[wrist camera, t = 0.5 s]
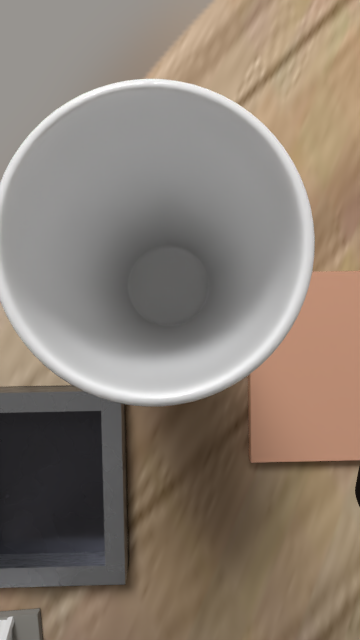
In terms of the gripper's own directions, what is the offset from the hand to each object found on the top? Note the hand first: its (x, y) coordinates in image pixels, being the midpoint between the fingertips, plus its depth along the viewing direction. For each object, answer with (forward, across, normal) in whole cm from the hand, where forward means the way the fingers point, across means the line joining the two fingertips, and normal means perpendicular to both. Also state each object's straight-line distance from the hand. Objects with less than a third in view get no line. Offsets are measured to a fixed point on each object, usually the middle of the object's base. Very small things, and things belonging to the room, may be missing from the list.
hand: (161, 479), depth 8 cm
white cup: (+15, 0, -1) cm, 15 cm away
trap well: (+12, +8, +11) cm, 18 cm away
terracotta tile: (+14, -10, +4) cm, 17 cm away
